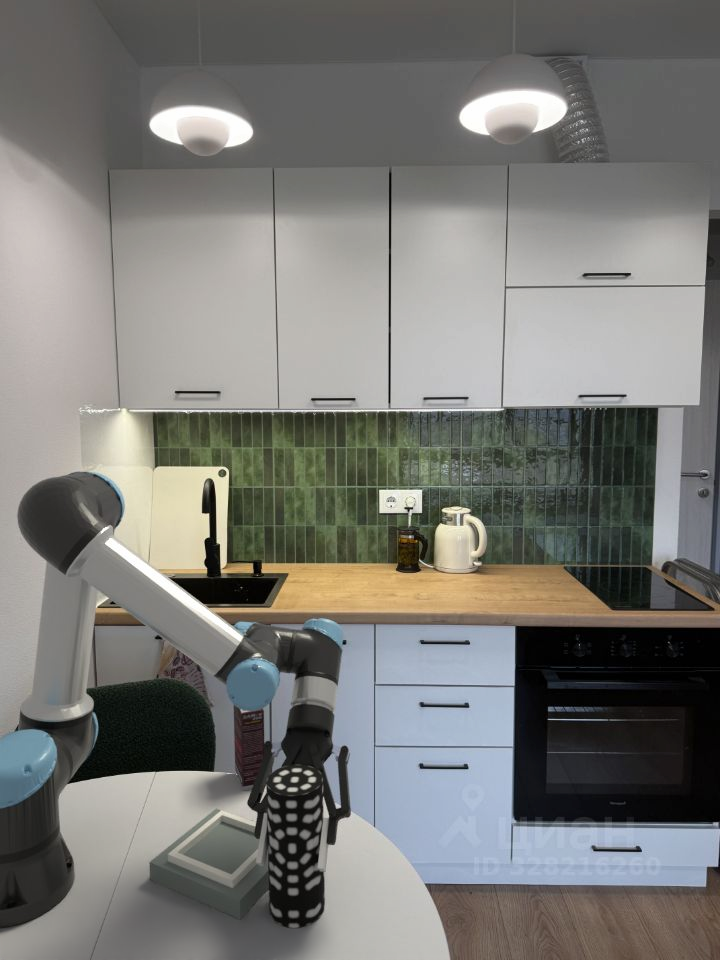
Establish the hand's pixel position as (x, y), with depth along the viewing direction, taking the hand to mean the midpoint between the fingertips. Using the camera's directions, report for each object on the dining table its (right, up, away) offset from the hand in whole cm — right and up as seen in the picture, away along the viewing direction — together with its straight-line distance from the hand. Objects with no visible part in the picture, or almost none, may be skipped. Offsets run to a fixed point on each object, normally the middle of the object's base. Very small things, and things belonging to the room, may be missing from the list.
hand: (290, 867), depth 93 cm
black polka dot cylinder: (+1, -9, +4) cm, 9 cm away
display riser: (-12, -8, +13) cm, 19 cm away
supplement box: (-12, -5, +39) cm, 41 cm away
